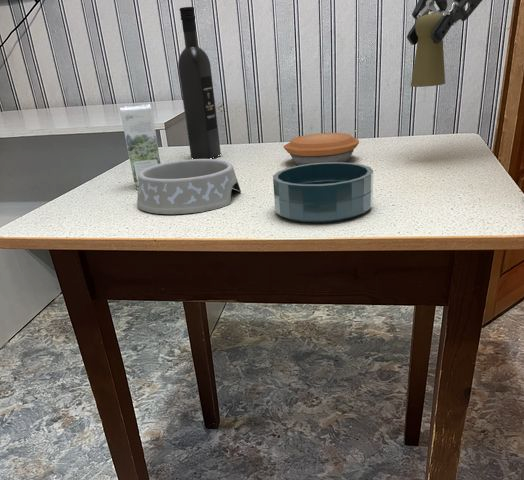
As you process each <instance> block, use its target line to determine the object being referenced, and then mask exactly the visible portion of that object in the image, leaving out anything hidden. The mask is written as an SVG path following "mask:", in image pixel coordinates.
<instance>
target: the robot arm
mask: <svg viewBox="0 0 524 480" xmlns="http://www.w3.org/2000/svg"><path fill="white" fill-rule="evenodd" d="M482 2H483V0H417V3H416V5H415V7H414V9H413V11H412V13H411V16H412V18H413V19H414V21H415V22H414V24H413V25H412V27H411V28H410V30H409V31H408V33H407V35H406V40H407V41H408V42H409V44H410V45H411V46H415V45H416V46H417V43H418V36H417V34H416V31H415V25H416V22H417V20H418V18H420V17H421V16H424V15H427V14H435V13H438V14H443V15H445V16H442V17H441V18H440V20H439V22H438V23H437V25H436V26H435V28H434V29H433V31H432V32H431V34H430V36H431V38H432V40H433V41H434V43H440V42H441V40H442V39H445V37H446V35H447V34H448V32H449V31H450V29H451V28H452V27H453V26H454V25H456V24H457V23H458V22H459V21H461V22H465V21H466V20H468V18H469V17H470V16H471V15H472V14H473V12H474V11H475V10H476V9H477V8H478V7H479V5H480V4H481V3H482ZM467 4H468V7H467V8H466V9H465V7H466V5H467ZM435 5H436V6H437V7H436V6H435ZM437 8H438V9H437Z"/></svg>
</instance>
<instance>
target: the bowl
mask: <svg viewBox="0 0 524 480" xmlns="http://www.w3.org/2000/svg"><path fill="white" fill-rule="evenodd" d="M272 183H273V197H274V198H273V199H274V211H275V213H276V214H277V215H278V216H280V217H282V218H283V217H284V218H286V219H287V220H290V221H294V222H299V223H310V224H324V223H325V224H326V223H334V222H335V223H336V222H341V221H346V220H350V219H353V218H356V217H358V216H360V215H362V214H364V213H366V212H367V211H369V210H370V209H371V208H372V206H373V204H374V203H373V201H374V169H372V167H371V166H368V165H365V164H362V163H354V162H326V163H325V162H324V163H312V164H305V165H294V166H291V167H287V168H284V169H282V170H279V171H277V172H276V173H275V174H273V175H272Z"/></svg>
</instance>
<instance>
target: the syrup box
mask: <svg viewBox="0 0 524 480" xmlns="http://www.w3.org/2000/svg"><path fill="white" fill-rule="evenodd" d="M152 109H153V108H152V106H151V104H150V103H142V104H135V105H134V104H133V105H125V106H120V107H119V113H120V118H121V123H122V128H123V133H124V138H125V143H126V148H127V154H128V158H129V165H130V168H131V173H132V179H133V183H134V188H136V189H137V188H138V175H139V173H140V172H141V171H142V170H144V169H146V168H148V167H151V166H155V165H158V164H162V163H161V157H160V150H159V145H158V139H157V133H156V126H155V121H154V115H153V110H152ZM136 189H135V190H136ZM137 190H138V189H137Z"/></svg>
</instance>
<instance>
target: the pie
mask: <svg viewBox="0 0 524 480" xmlns="http://www.w3.org/2000/svg"><path fill="white" fill-rule="evenodd" d="M359 144H360V140H359V139H358V138H357V137H353V135H351V134H350V133H343V132H319V133H312V134H311V133H310V134H305V135H300V136H296V137H293V138H292V139H291V140H290V142H288V143H286V144H284V145H283V150H285V151H286V152H287V153H288V154H289V156H290V157H291V158H292V160H293V161H294V164H296V166H299V165H305V164H312V163H324V162H325V163H326V162H345V163H347V162H348V161H349V160H350V158H351V156H352V155H353V153H354V150H355V149H356V148H357V146H359Z"/></svg>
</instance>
